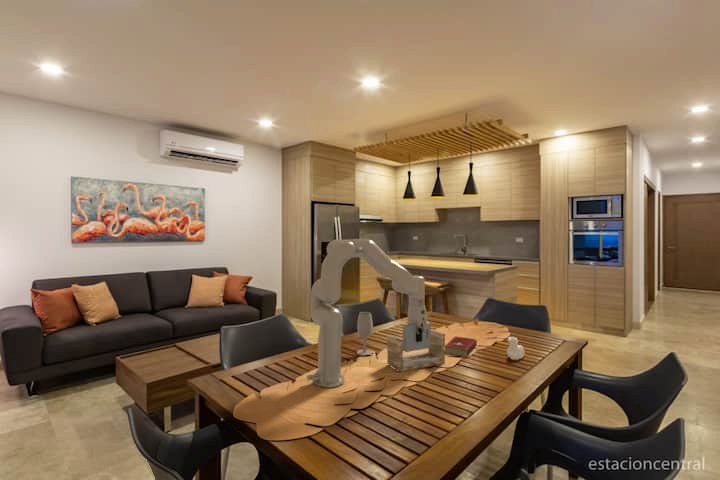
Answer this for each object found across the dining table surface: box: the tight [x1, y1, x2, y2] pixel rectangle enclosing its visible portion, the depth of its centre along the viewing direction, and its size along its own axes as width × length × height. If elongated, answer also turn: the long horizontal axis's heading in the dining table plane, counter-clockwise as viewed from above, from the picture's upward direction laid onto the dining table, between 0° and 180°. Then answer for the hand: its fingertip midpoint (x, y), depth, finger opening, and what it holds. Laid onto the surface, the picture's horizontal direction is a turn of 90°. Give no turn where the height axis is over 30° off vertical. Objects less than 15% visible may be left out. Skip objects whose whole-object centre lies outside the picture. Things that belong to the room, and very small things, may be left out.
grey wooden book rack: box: [387, 328, 446, 372], centre depth 178 cm, size 26×10×14 cm, turn 117°
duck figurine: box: [506, 336, 526, 361], centre depth 188 cm, size 12×8×11 cm
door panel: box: [402, 321, 432, 353], centre depth 178 cm, size 14×4×12 cm, turn 117°
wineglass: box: [356, 311, 374, 357], centre depth 193 cm, size 9×9×21 cm
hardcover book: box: [445, 335, 478, 357], centre depth 201 cm, size 12×21×4 cm, turn 150°
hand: (416, 340), depth 178 cm, fingers closed on door panel, 3 cm apart
